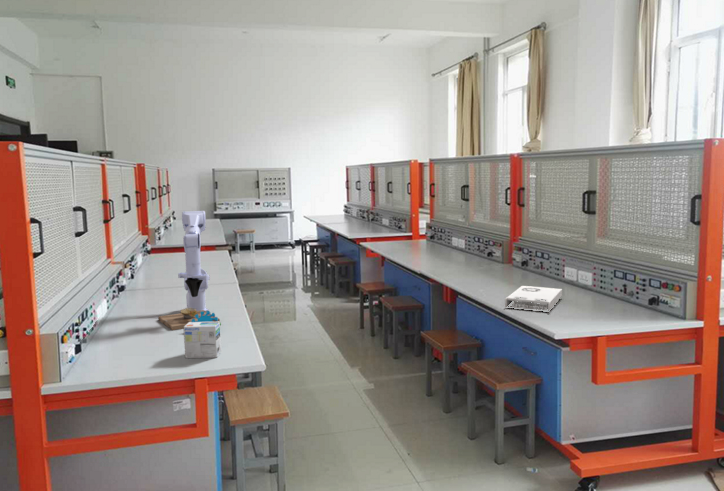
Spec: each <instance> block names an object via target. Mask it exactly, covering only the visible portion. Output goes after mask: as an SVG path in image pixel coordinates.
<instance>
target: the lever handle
mask: <svg viewBox="0 0 724 491" xmlns="http://www.w3.org/2000/svg"><path fill="white" fill-rule="evenodd" d="M185 308H186V309H185ZM185 308H183V309H182V308H181V309H180V313H181V314H184V315H190V316H191V317H194V316H195V315H196V314H197V311H196V309H194V308H187V307H185Z"/></svg>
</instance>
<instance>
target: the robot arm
mask: <svg viewBox="0 0 724 491" xmlns="http://www.w3.org/2000/svg"><path fill="white" fill-rule="evenodd" d="M206 217H207V216H206V211H205V210H190V211H189V210H188V211H186V210H183V211H182V212H181V221H182V228H183V231H184V232H185V233H184V234H185V235H184V236H183V237H182V238H183V248H184V253H185V272H178V273H177V275H178V279H183V283H184V290H185V291H186V292H187V293H186V307H185V308H184V309H186V308H194V309H196V311H200V310H204V311H206V312H207V311H210V308H209V309H208V308H207V306H206V301H207V300H206V290H207V289H208V288H209V281H210V279H211V278H210V277H211V276H210V274H208V273H207V271H206V270H205V269H204V268H202V265H201V263H202V262H201V261H202V260H201V246H202V242H201V241H202V239H201V235H202V232H204V231H205V230H206V226H207V224H206V219H207V218H206Z"/></svg>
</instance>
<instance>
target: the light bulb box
mask: <svg viewBox="0 0 724 491" xmlns="http://www.w3.org/2000/svg"><path fill="white" fill-rule="evenodd" d="M220 323H221V321H217V322H189V323H187V324H186V325H185V326H184V329H183V341H184V343H183V344H184V358H185V359H199V358H200V359H203V358H204V359H205V358H206V359H207V358H209V359H210V358H211V359H212V358H213V359H214V358H218V357H219V355H220V354H221V352H222V339H221V326H220Z"/></svg>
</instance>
